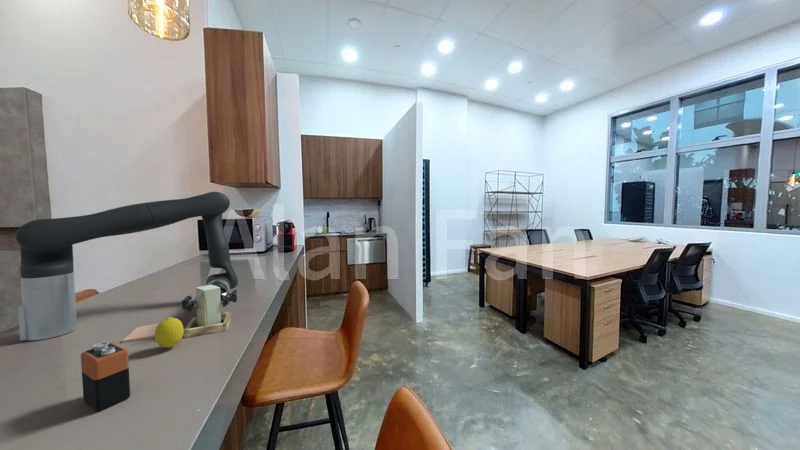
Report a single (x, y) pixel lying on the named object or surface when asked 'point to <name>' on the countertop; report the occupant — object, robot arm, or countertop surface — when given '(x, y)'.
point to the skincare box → (208, 305)
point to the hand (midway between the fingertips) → (207, 305)
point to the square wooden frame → (192, 331)
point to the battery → (105, 375)
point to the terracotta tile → (141, 333)
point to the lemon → (169, 332)
